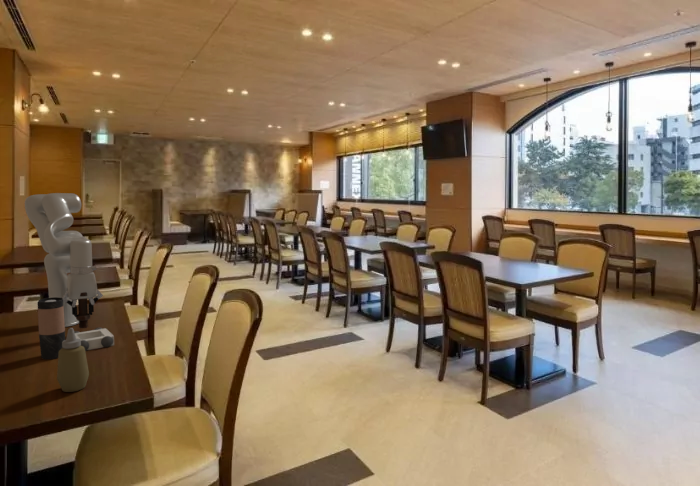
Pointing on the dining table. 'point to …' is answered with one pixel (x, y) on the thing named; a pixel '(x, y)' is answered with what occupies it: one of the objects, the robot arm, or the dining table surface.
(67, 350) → the squeeze bottle
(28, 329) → the dining table surface
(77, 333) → the chassis
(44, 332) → the travel mug
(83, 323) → the bolt
